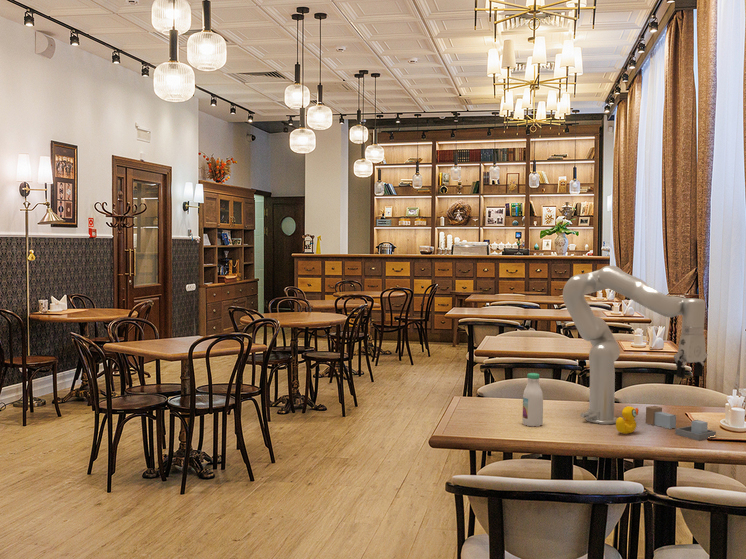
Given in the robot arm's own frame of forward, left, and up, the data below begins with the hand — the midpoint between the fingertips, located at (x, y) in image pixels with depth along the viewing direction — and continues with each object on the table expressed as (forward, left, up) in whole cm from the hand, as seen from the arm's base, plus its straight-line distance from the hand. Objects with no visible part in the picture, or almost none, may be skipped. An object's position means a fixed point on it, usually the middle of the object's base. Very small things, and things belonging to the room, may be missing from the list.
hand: (689, 376), depth 256 cm
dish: (-2, -4, -21) cm, 22 cm away
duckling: (-22, +10, -21) cm, 32 cm away
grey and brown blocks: (-1, +11, -21) cm, 24 cm away
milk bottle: (-45, +36, -21) cm, 61 cm away
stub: (-2, -6, -21) cm, 22 cm away
